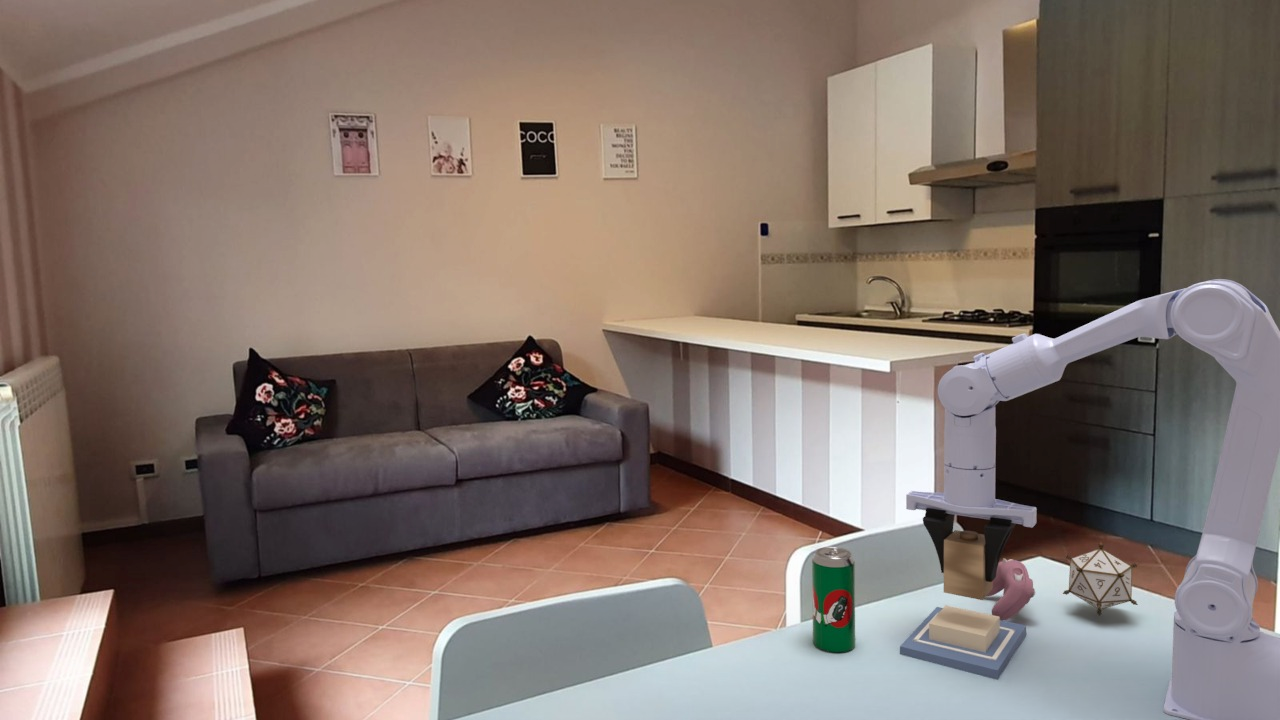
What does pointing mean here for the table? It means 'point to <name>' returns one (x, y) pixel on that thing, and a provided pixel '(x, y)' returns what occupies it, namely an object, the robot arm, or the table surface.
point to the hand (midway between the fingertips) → (968, 574)
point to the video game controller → (1011, 588)
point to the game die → (1100, 579)
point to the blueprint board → (963, 658)
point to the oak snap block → (965, 565)
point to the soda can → (833, 599)
